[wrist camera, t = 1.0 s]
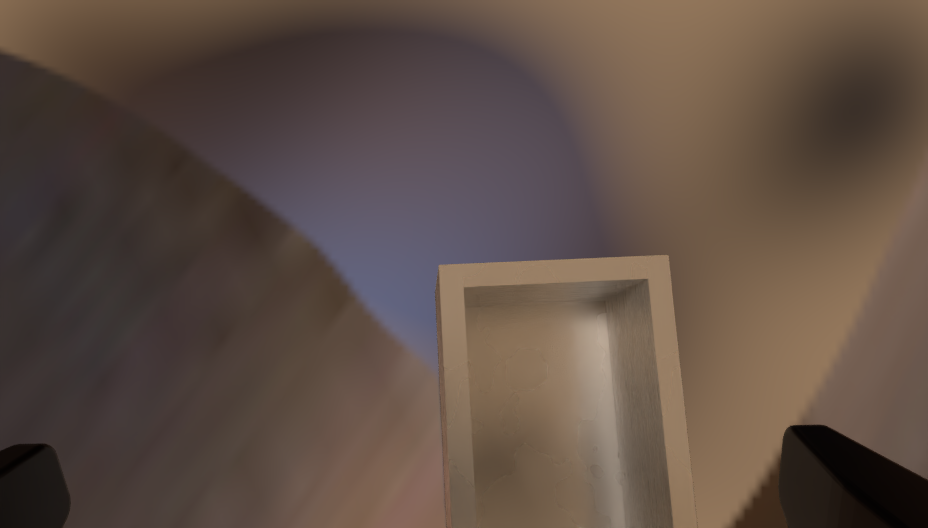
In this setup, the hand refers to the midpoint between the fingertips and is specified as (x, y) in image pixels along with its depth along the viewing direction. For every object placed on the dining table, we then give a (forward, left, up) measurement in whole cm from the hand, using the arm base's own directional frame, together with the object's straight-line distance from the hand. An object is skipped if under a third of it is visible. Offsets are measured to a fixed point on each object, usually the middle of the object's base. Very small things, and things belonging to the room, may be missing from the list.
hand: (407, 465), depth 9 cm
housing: (-1, -4, -14) cm, 14 cm away
